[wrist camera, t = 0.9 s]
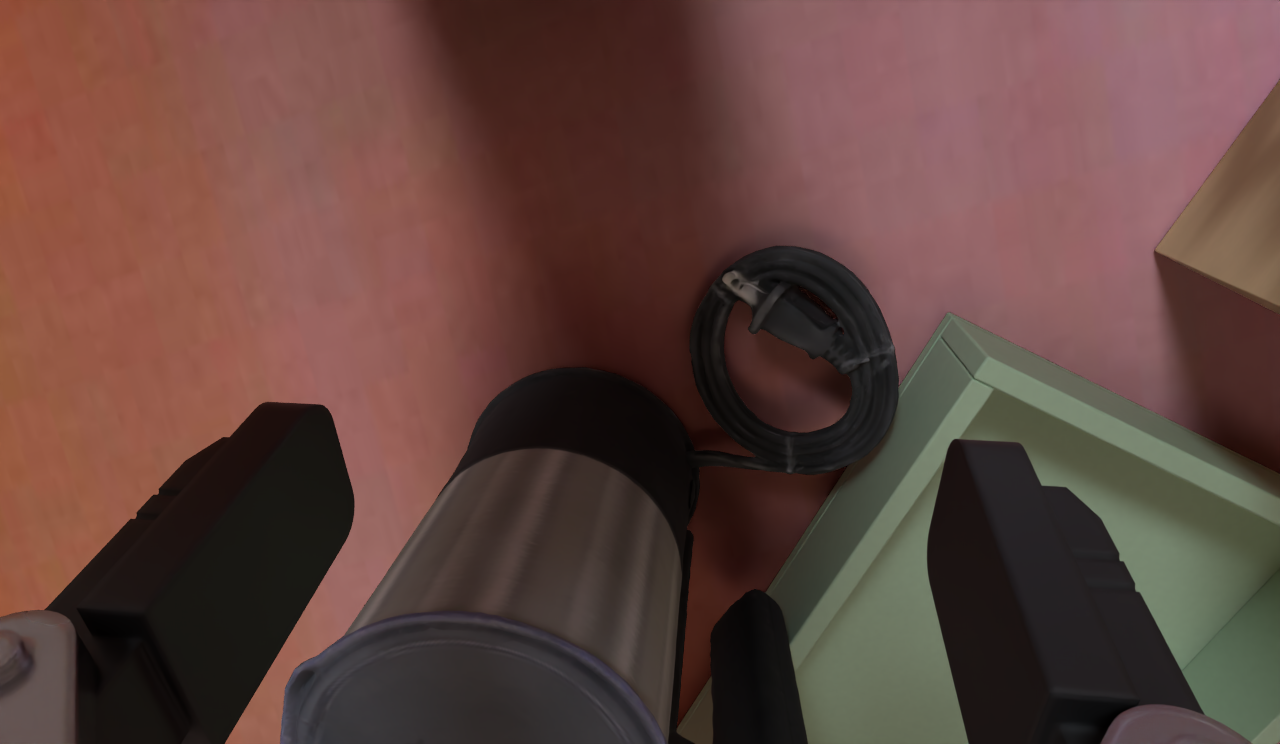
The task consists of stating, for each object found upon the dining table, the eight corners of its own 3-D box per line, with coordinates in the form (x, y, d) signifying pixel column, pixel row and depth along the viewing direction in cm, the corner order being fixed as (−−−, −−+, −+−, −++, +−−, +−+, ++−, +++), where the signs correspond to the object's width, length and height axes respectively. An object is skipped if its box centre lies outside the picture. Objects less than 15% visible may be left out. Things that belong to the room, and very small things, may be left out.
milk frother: (446, 534, 34) (256, 866, 20) (524, 159, 28) (332, 260, 14) (774, 627, 34) (813, 1020, 20) (922, 274, 28) (1121, 486, 14)
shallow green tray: (947, 311, 28) (988, 356, 24) (1345, 505, 29) (1451, 581, 25) (658, 755, 37) (650, 846, 33) (976, 891, 38) (1008, 996, 34)
